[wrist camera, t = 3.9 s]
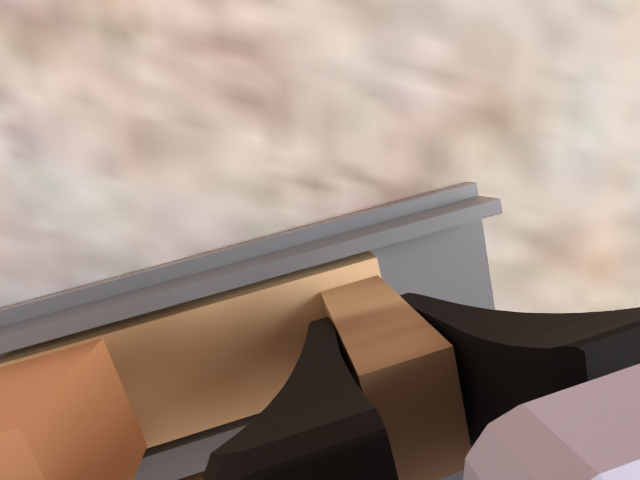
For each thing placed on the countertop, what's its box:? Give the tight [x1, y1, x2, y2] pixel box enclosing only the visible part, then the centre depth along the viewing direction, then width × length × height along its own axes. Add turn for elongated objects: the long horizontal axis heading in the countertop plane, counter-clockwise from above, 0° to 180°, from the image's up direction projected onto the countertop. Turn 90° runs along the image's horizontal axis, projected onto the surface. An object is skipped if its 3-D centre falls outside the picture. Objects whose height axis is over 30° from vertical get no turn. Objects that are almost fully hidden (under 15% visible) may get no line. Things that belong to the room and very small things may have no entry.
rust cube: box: [0, 338, 147, 480], centre depth 10 cm, size 4×4×4 cm
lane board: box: [0, 182, 502, 480], centre depth 14 cm, size 12×22×2 cm, turn 104°
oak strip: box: [0, 251, 471, 480], centre depth 10 cm, size 4×12×6 cm, turn 104°
